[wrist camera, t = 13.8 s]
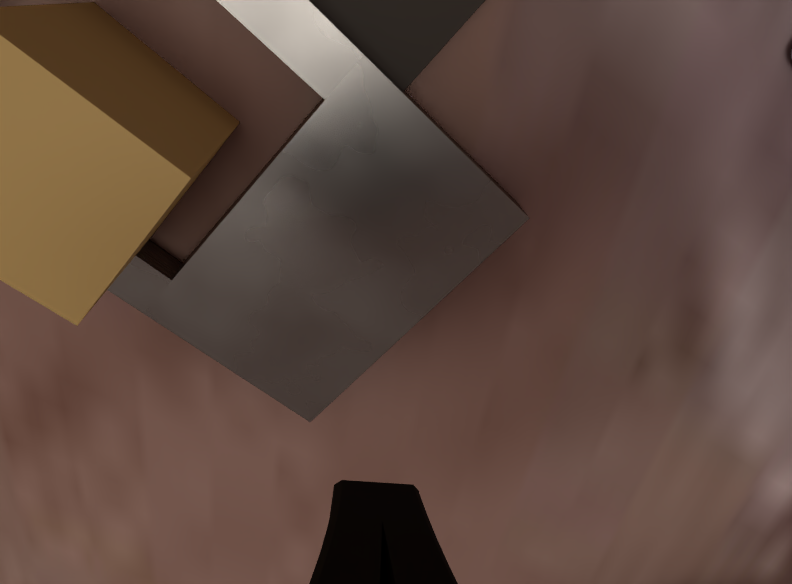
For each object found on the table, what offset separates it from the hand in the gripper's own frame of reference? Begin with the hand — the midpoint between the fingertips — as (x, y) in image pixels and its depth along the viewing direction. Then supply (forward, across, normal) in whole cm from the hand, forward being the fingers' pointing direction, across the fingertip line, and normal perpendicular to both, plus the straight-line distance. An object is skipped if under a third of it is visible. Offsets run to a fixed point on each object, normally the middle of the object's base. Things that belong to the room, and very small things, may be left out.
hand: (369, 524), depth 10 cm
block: (+10, +7, -4) cm, 13 cm away
